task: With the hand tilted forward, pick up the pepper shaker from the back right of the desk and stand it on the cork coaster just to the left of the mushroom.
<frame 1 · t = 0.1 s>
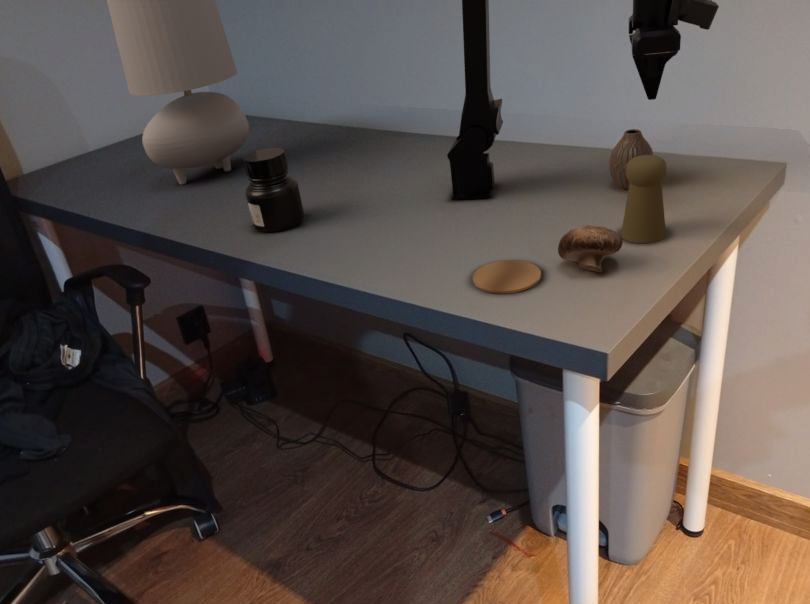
hand: (650, 91, 111), 15 cm above the table, tool pointing down, fingers open, 9 cm apart
table lamp: (207, 175, 157), on the table
vase: (631, 186, 119), on the table
coaster: (506, 277, 97), on the table
pepper shaker: (643, 235, 103), on the table
mushroom: (589, 267, 97), on the table
ink bottle: (280, 224, 126), on the table
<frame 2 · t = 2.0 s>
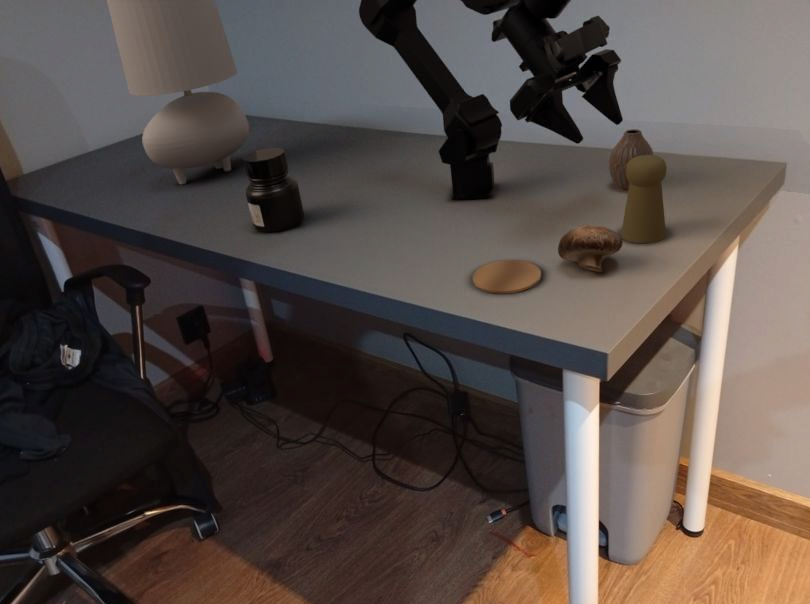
hand: (600, 132, 101), 13 cm above the table, tool tilted 45°, fingers open, 9 cm apart
nothing on the table moved.
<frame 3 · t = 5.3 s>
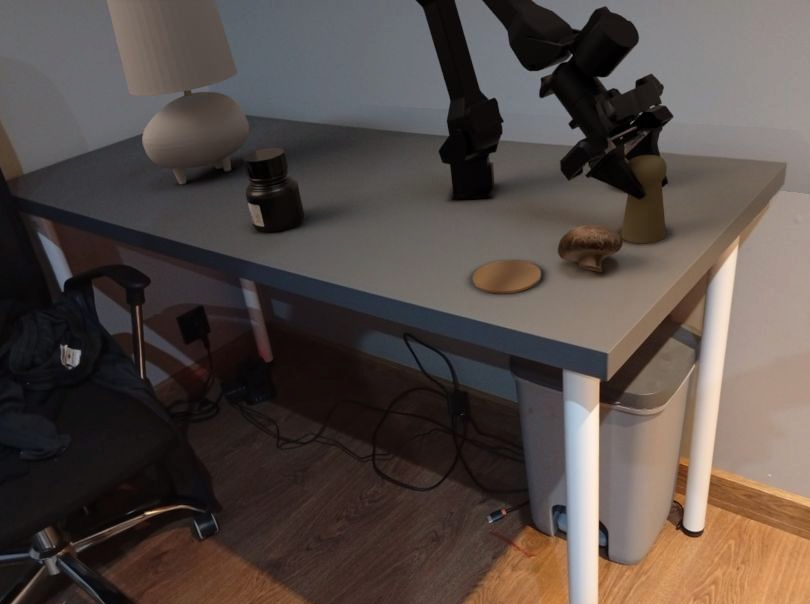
hand: (654, 191, 98), 7 cm above the table, tool tilted 45°, fingers closed on pepper shaker, 5 cm apart
pepper shaker: (643, 235, 103), on the table, touching gripper
everything else where it was.
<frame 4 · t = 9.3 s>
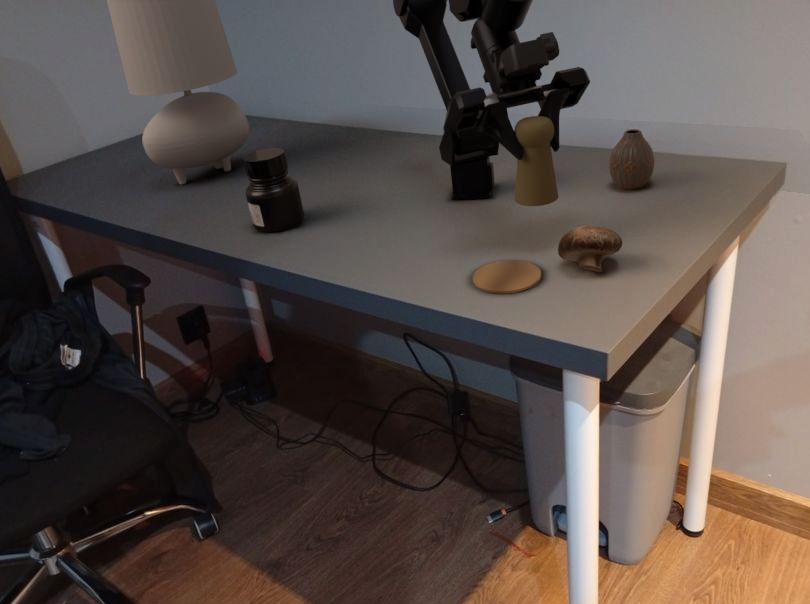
hand: (538, 154, 97), 13 cm above the table, tool tilted 45°, fingers closed on pepper shaker, 5 cm apart
pepper shaker: (536, 199, 102), point 7 cm above the table, touching gripper
everything else where it was.
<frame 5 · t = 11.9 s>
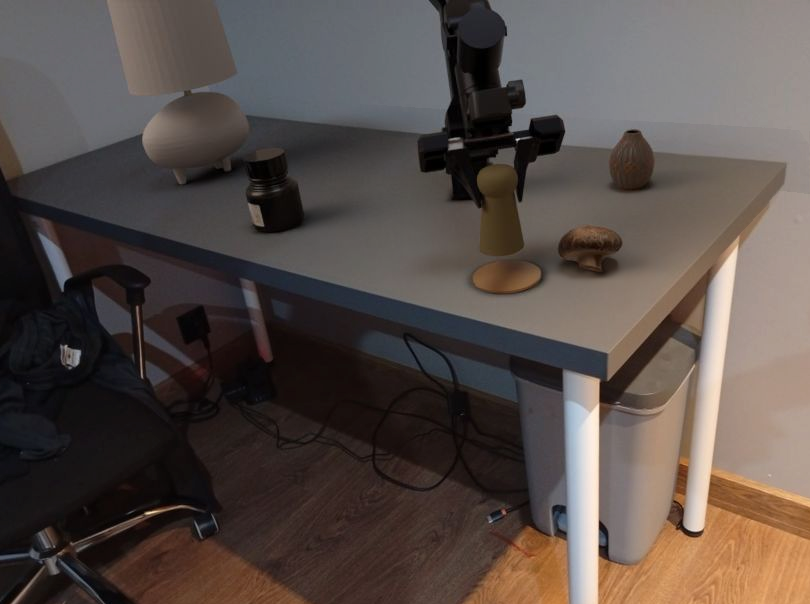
hand: (500, 204, 94), 10 cm above the table, tool tilted 45°, fingers closed on pepper shaker, 5 cm apart
pepper shaker: (501, 247, 98), point 3 cm above the table, touching gripper
everything else where it was.
when the fingers open (7 cm above the table, at t = 13.5 s): pepper shaker stays where it is, resting on coaster.
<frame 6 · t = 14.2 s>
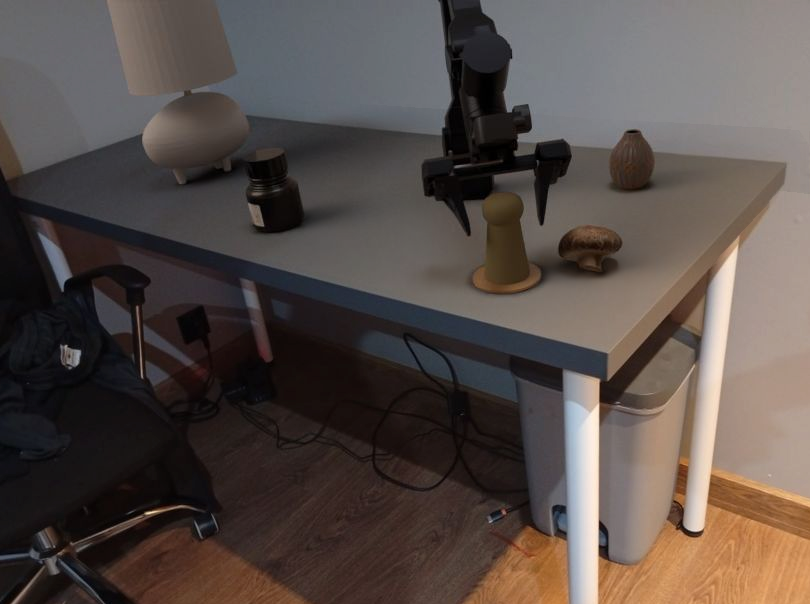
hand: (505, 229, 92), 7 cm above the table, tool tilted 45°, fingers open, 9 cm apart
pepper shaker: (507, 275, 97), resting on coaster
everything else where it was.
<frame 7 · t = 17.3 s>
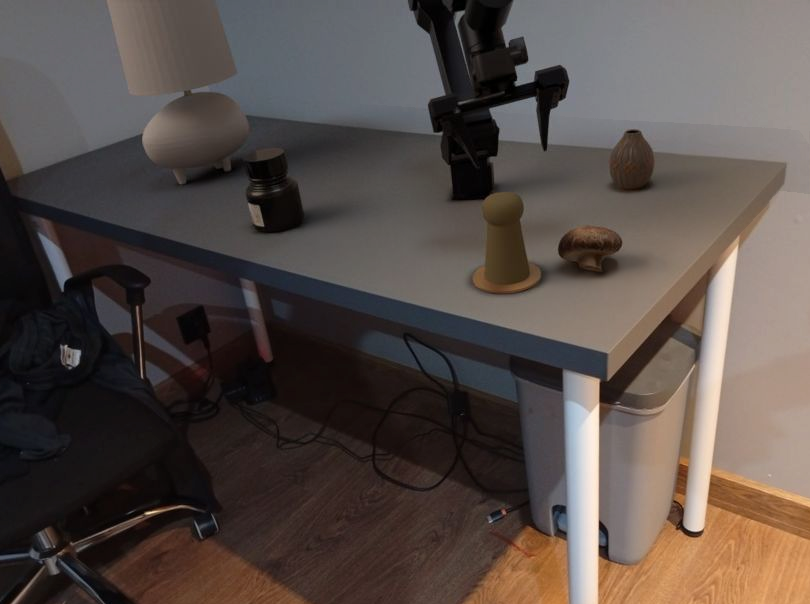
hand: (511, 158, 98), 13 cm above the table, tool tilted 40°, fingers open, 9 cm apart
nothing on the table moved.
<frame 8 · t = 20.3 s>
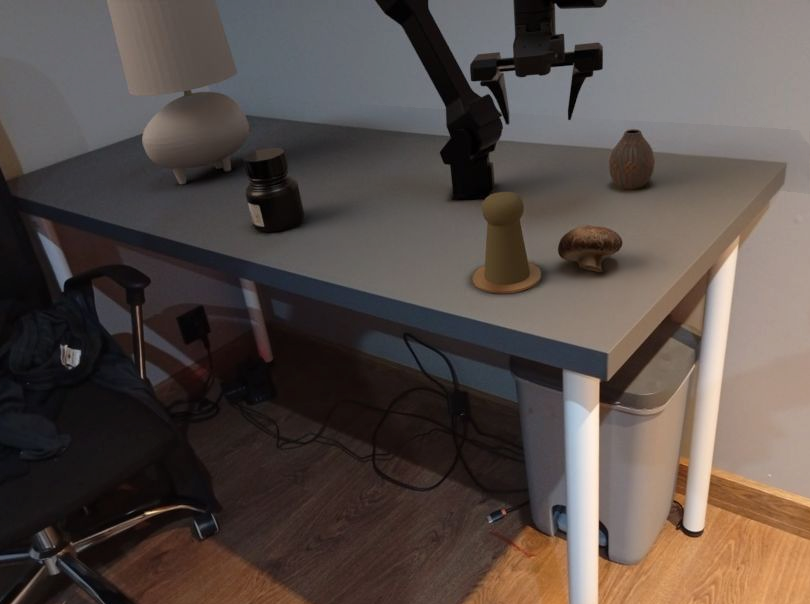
hand: (538, 121, 111), 13 cm above the table, tool pointing down, fingers open, 9 cm apart
nothing on the table moved.
at the end: pepper shaker inside the target area on the table beside the mushroom (0.2 cm from its centre), resting on coaster; pepper shaker tilted 0°; pepper shaker 0.2 cm from the coaster (horizontally) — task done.
